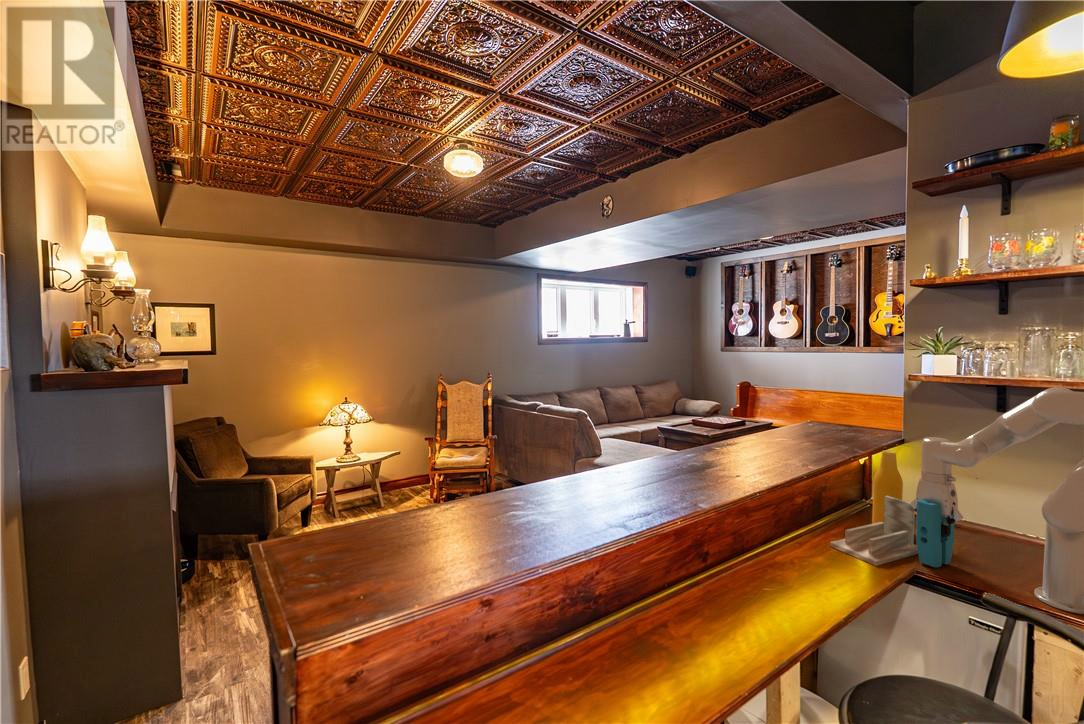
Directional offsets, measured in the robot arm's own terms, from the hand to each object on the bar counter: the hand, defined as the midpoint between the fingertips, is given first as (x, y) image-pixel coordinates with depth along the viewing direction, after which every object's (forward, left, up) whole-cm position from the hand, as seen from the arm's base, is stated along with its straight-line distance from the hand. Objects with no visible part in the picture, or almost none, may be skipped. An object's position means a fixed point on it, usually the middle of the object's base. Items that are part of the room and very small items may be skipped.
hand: (935, 532), depth 161 cm
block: (0, 0, -10) cm, 10 cm away
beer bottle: (+26, -16, -10) cm, 32 cm away
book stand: (+15, +6, -10) cm, 19 cm away
